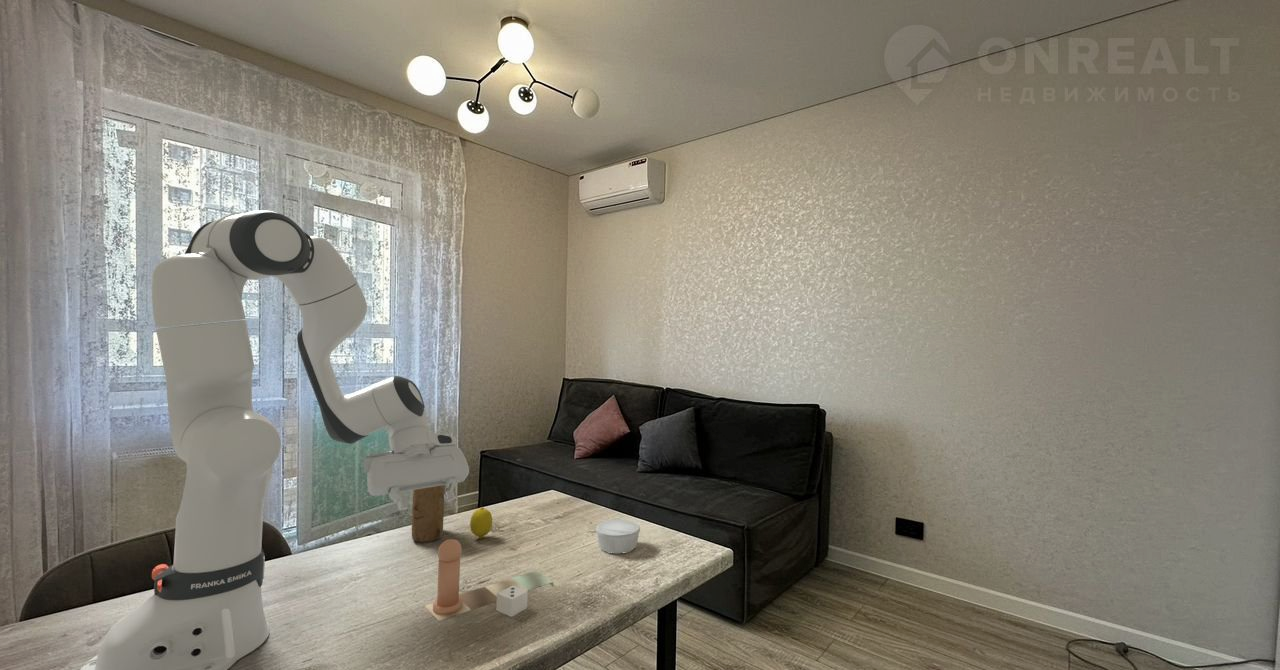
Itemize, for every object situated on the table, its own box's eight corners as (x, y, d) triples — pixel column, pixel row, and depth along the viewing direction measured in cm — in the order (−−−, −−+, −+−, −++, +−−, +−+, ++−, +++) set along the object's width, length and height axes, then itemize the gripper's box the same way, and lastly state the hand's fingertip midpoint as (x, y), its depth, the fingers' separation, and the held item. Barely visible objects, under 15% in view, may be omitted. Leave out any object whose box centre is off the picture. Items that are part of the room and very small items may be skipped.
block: (441, 542, 128) (444, 463, 129) (409, 545, 126) (412, 464, 127) (445, 527, 138) (447, 454, 139) (415, 529, 136) (418, 455, 137)
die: (511, 621, 92) (512, 599, 92) (496, 615, 94) (496, 593, 94) (527, 612, 95) (527, 590, 95) (512, 606, 97) (512, 585, 98)
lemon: (465, 538, 131) (466, 507, 131) (482, 532, 135) (483, 502, 136) (478, 543, 128) (479, 512, 128) (496, 537, 132) (497, 506, 133)
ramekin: (599, 558, 121) (599, 536, 121) (592, 540, 132) (593, 520, 132) (644, 554, 124) (644, 533, 124) (634, 538, 135) (634, 518, 135)
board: (438, 625, 90) (438, 620, 90) (424, 609, 95) (424, 605, 95) (553, 585, 106) (553, 581, 106) (535, 574, 111) (535, 570, 111)
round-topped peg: (439, 618, 91) (441, 547, 91) (428, 606, 95) (431, 539, 95) (466, 608, 94) (469, 540, 95) (455, 598, 98) (458, 532, 99)
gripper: (364, 445, 103) (376, 505, 95) (462, 436, 117) (479, 487, 109) (358, 463, 106) (369, 523, 99) (453, 452, 120) (469, 503, 112)
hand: (427, 504), depth 104 cm, fingers open, 8 cm apart
